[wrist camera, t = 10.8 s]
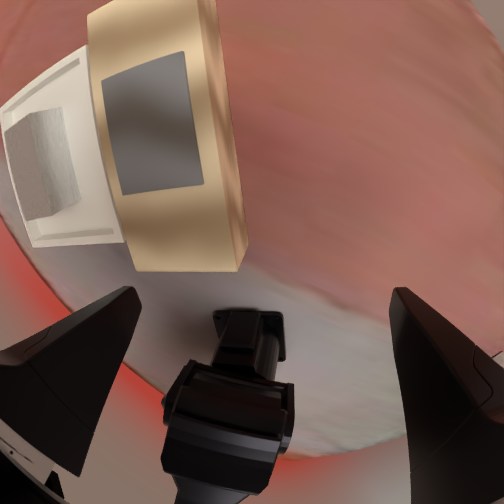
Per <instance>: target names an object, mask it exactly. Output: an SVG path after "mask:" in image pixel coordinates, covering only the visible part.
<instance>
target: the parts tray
mask: <svg viewBox="0 0 504 504" xmlns="http://www.w3.org/2000/svg"><path fill="white" fill-rule="evenodd" d="M58 107H62V109H63V116H64V122H65V128H66V134H67V139H68V144H69V149H70V154H71V159H72V163H73V167H74V172H75V176H76V180H77V184H78V187H79V191H80V195H81V198H82V199H80V200H78V201H76V202H75V203H73V204H71V205H69V206H68V207H66V208H64V209H63V210H61V211H59V212H58V213H56V214H54V215H53V216H48V217H44V218H39V219H34V220H30V221H25V218H24V215H23V212H22V209H21V205H20V202H19V199H18V195H17V192H16V188H15V184H14V180H13V176H12V172H11V168H10V163H9V158H8V153H7V148H6V142H5V136H4V132H5V131H6V130H8V129H9V128H10V127H12V126H13V125H14V124H15V123H17V122H18V121H19V120H21V119H22V118H23V117H25V116H26V115H28V114H29V113H33V112H37V111H42V110H47V109H52V108H58ZM0 122H1V129H2V136H3V142H4V148H5V154H6V159H7V163H8V168H9V172H10V177H11V181H12V185H13V188H14V192H15V196H16V199H17V203H18V206H19V209H20V212H21V215H22V218H23V221H24V224H25V227H26V230H27V233H28V236H29V238H30V241H31V244H32V246H33V248H37V247H52V246H69V245H86V244H104V243H123V242H125V241H126V239H125V235H124V232H123V229H122V226H121V222H120V219H119V216H118V212H117V209H116V205H115V201H114V198H113V194H112V190H111V186H110V182H109V178H108V174H107V169H106V165H105V161H104V156H103V151H102V146H101V141H100V136H99V130H98V125H97V119H96V113H95V106H94V99H93V91H92V83H91V74H90V63H89V49H88V45H85V46H83V47H81V48H80V49H78V50H76V51H75V52H73V53H71V54H70V55H68V56H67V57H65V58H64V59H62V60H60V61H59V62H57V63H56V64H55V65H53V66H52V67H50V68H49V69H47V70H46V71H45V72H43V73H42V74H41V75H39V76H38V77H37V78H35V79H34V80H33V81H31V82H30V83H29V84H28V85H26V86H25V87H24V88H23V89H21V90H20V91H19V92H18V93H17V94H16V95H14V96H13V97H12V98H11V99H10V100H9V101H8V102H7V103H5V104H4V105H3V106H2V107H1V108H0Z"/></svg>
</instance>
